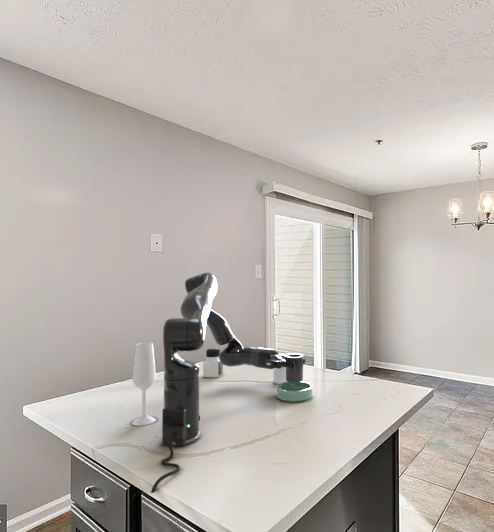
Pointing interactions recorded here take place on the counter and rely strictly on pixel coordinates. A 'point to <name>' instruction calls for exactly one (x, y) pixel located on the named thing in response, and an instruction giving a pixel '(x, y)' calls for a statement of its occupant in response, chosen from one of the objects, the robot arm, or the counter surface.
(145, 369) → the champagne flute
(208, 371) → the medicine bottle
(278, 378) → the mug
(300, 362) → the cup
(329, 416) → the counter surface
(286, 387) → the bowl
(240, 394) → the counter surface
